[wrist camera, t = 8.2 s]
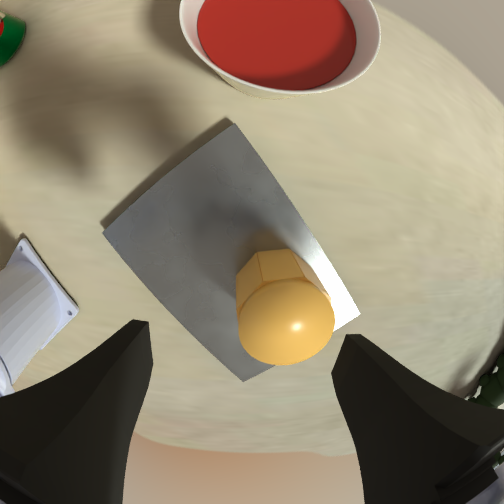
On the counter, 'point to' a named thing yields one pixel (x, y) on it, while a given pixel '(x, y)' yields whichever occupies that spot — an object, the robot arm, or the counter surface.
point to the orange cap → (282, 308)
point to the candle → (283, 43)
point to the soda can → (10, 36)
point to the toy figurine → (492, 394)
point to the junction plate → (216, 242)
